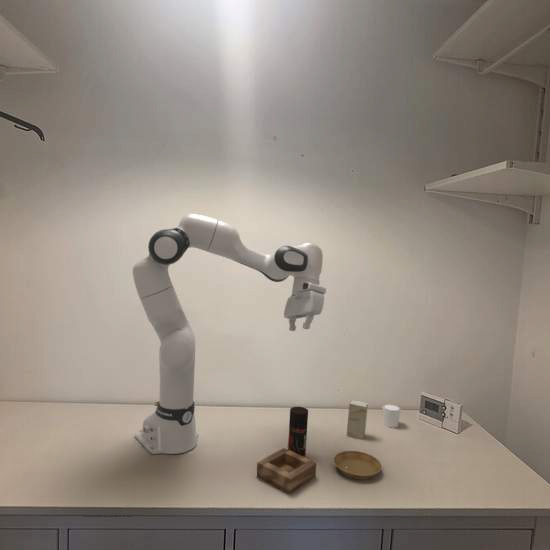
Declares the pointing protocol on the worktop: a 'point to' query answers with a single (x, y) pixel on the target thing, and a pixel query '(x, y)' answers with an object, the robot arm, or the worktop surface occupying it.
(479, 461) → the worktop surface
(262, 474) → the slot block
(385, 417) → the white cylinder
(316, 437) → the worktop surface
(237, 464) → the worktop surface
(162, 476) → the worktop surface
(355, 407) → the skincare box
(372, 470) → the plant saucer
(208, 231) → the robot arm
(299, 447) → the deodorant
